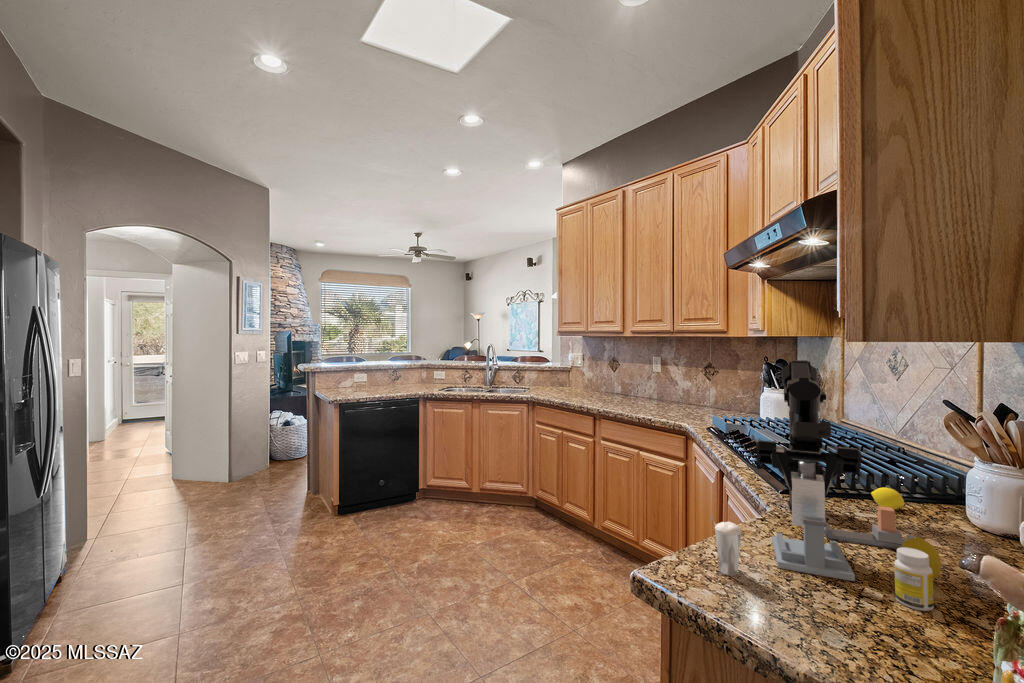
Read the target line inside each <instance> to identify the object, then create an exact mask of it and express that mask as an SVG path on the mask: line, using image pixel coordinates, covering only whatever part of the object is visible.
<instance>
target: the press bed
mask: <svg viewBox="0 0 1024 683" xmlns="http://www.w3.org/2000/svg"><path fill="white" fill-rule="evenodd" d="M801 520H802V522H803V526H802V529H803V540H802V539H793V538H788V537H784V536H783V533H782V532H776V536H775V535H772V536H771V543H772V547H773V551H774V552H773V553H774V557H775V560H776V565H777V569H780V570H781V569H783V570H787V571H788V570H789V571H794V572H800V573H805V574H810V575H817V576H822V577H827V578H833V579H838V580H839V579H840V580H844V581H852V582H855V581H856V577H855V576H856V575H855V572H854V571H853V569H852V567H851V565H850V563H849V562H848V560H847V558H846V557H845V555H844V553H843V551H842V549H841V548H840V545H839V544H838V542H837V540H829V542H830V544H828V543H825V534H824V527H826V524H827V521H826V519H825V520H824V518H821V517H813V516H806V515H801Z"/></svg>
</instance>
